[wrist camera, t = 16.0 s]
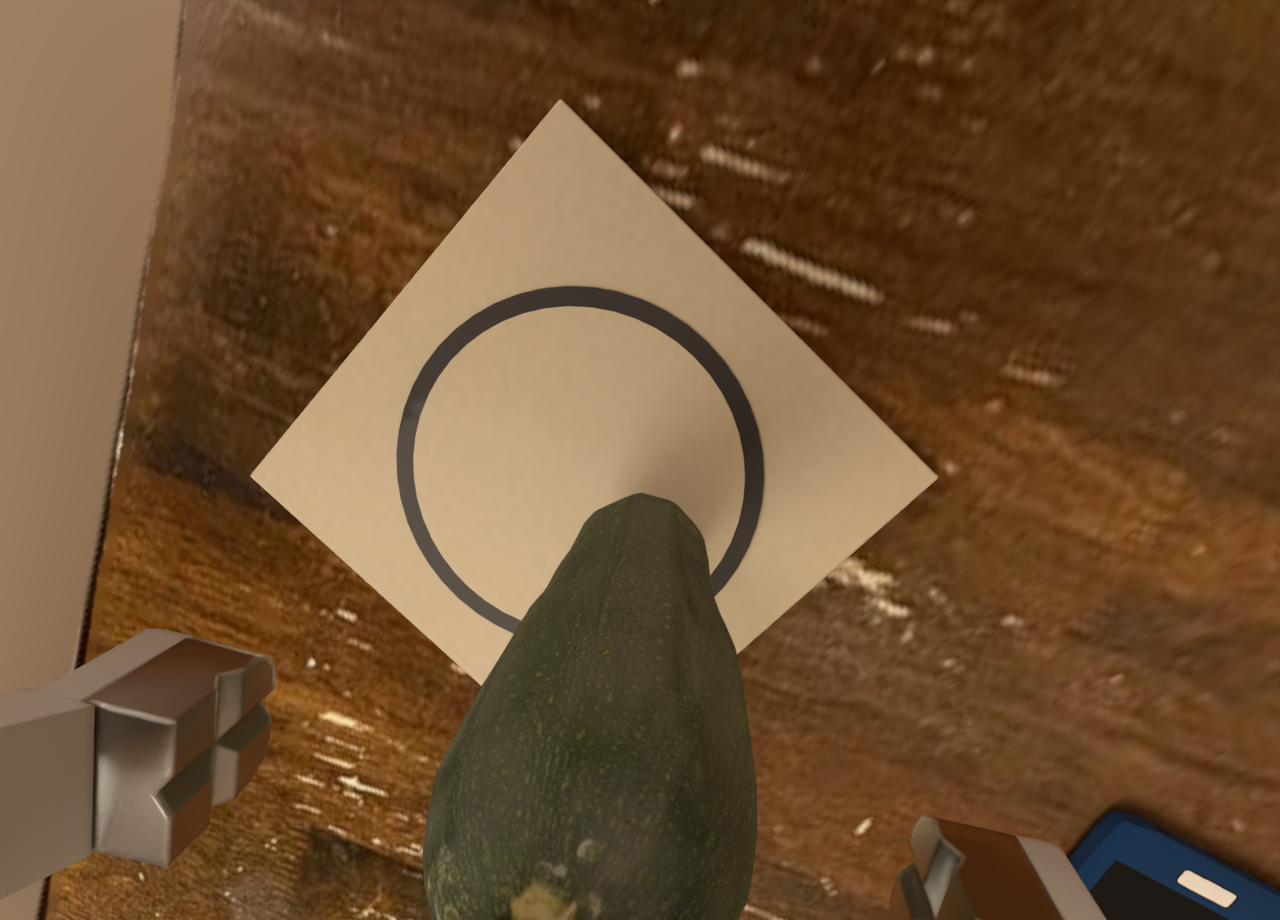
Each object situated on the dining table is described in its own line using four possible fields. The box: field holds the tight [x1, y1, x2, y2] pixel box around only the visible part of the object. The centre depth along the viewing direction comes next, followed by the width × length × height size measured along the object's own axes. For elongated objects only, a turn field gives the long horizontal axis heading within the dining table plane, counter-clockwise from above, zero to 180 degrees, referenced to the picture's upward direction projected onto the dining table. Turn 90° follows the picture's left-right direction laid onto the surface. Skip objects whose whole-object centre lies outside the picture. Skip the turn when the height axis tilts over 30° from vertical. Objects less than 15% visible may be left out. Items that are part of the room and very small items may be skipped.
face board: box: [251, 99, 938, 686], centre depth 23 cm, size 16×16×1 cm
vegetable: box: [423, 493, 757, 920], centre depth 13 cm, size 4×4×20 cm
